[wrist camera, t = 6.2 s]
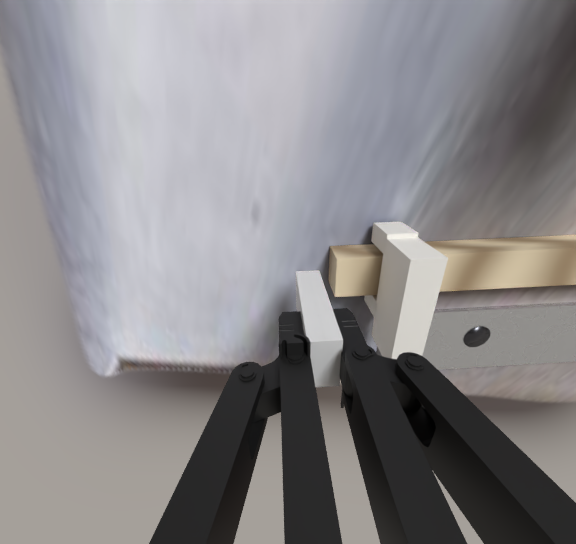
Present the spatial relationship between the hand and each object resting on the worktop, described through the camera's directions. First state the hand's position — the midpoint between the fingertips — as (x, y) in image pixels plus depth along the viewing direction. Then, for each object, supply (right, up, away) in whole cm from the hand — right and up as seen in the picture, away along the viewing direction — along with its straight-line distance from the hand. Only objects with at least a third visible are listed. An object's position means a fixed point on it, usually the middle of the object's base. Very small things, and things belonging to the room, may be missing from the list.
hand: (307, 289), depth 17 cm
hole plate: (+22, -5, +8) cm, 24 cm away
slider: (+6, -1, +4) cm, 8 cm away
